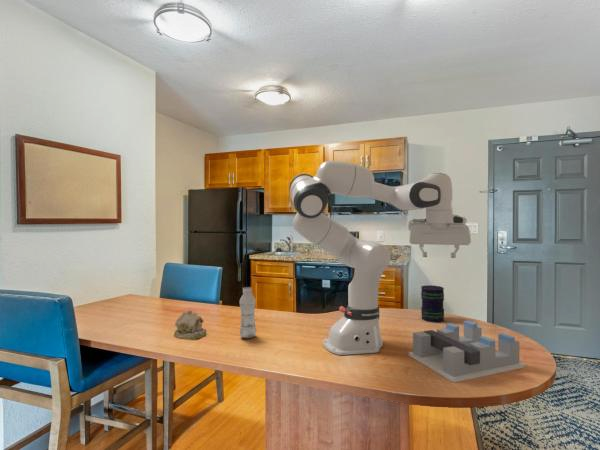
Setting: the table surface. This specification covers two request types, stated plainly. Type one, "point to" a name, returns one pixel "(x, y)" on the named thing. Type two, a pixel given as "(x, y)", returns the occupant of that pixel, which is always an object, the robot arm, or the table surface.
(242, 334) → the plastic bottle
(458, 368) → the grey slotted fixture rack
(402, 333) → the table surface
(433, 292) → the black ribbed barrel
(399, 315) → the table surface
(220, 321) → the table surface
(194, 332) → the ceramic model
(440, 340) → the dark square rod
